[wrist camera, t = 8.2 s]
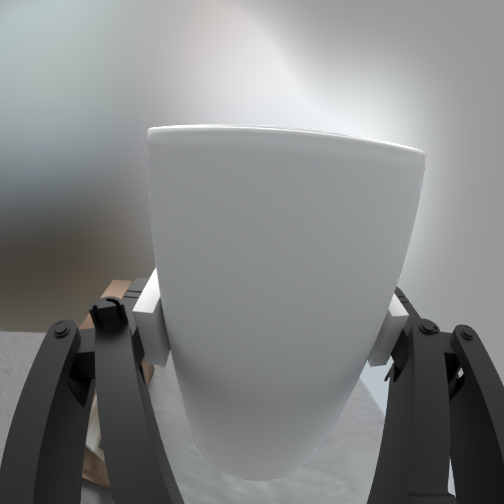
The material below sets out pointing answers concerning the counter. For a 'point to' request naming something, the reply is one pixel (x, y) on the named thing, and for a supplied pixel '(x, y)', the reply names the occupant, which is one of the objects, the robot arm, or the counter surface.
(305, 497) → the counter surface
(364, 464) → the counter surface
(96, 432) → the label board
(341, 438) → the counter surface
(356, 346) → the cup
